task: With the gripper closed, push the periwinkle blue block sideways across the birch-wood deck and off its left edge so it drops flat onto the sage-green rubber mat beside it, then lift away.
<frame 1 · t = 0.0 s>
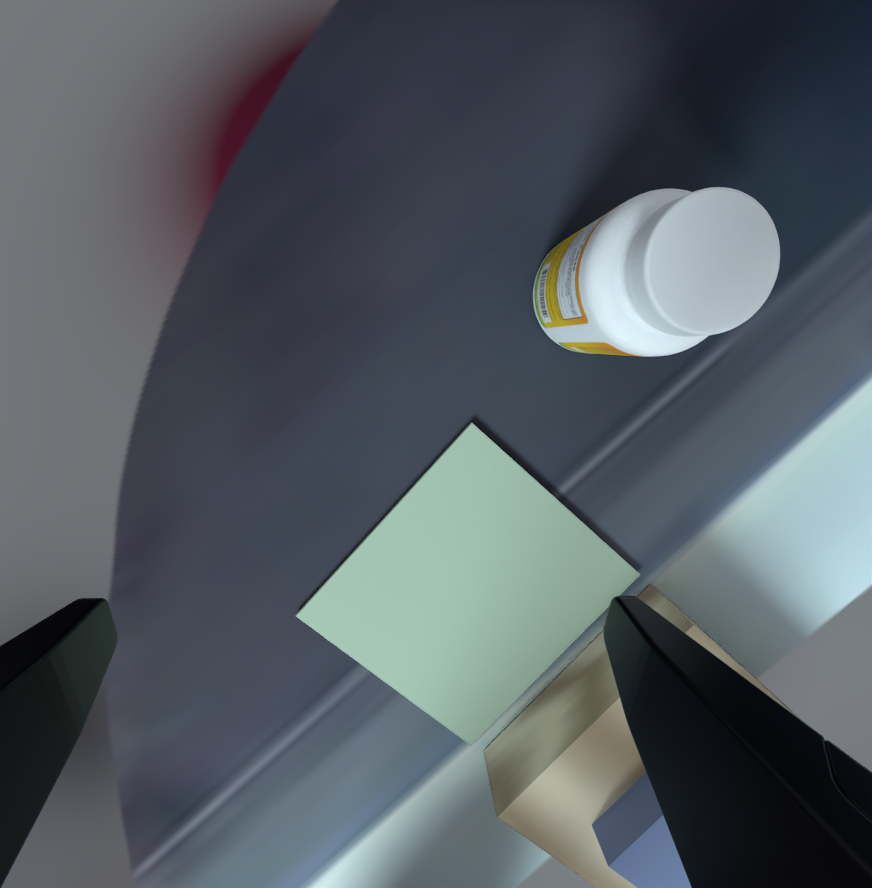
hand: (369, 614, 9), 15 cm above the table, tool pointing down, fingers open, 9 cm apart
mat: (470, 592, 26), on the table
periwinkle blue block: (690, 801, 25), point 4 cm above the table, touching deck
deck: (638, 729, 29), on the table
supplement bottle: (585, 294, 24), on the table
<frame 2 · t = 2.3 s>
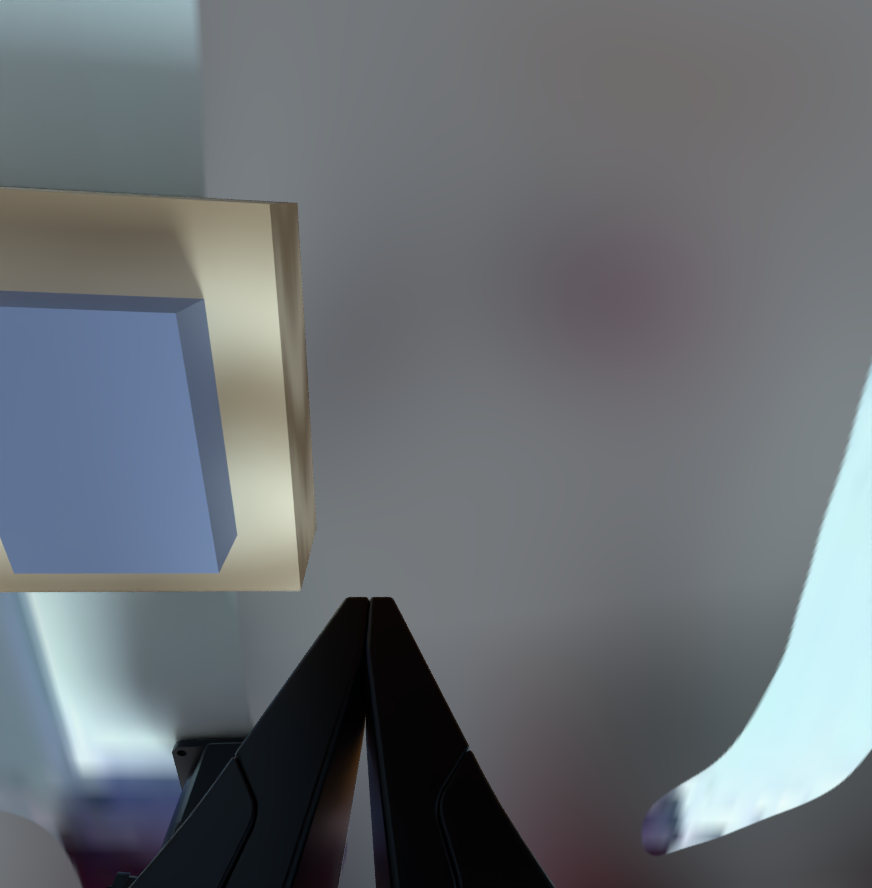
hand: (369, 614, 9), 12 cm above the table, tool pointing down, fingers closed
periwinkle blue block: (122, 427, 16), point 4 cm above the table, touching deck
deck: (146, 384, 19), on the table
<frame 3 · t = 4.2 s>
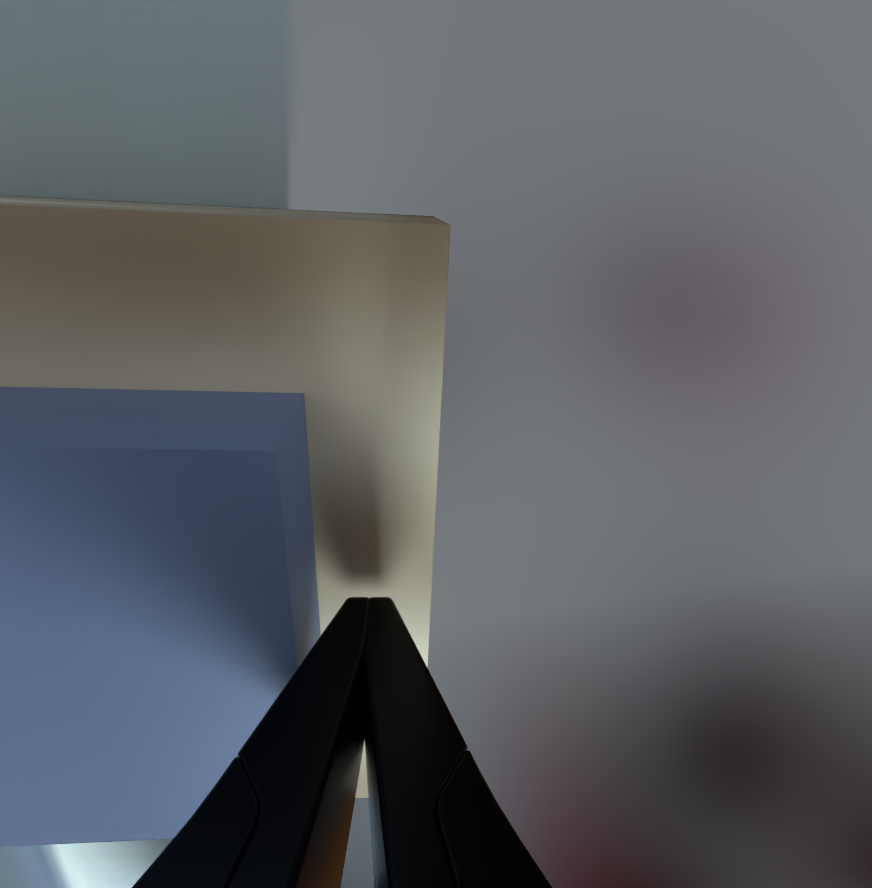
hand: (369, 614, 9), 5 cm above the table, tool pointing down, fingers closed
periwinkle blue block: (152, 594, 9), point 4 cm above the table, touching gripper
deck: (187, 485, 13), on the table
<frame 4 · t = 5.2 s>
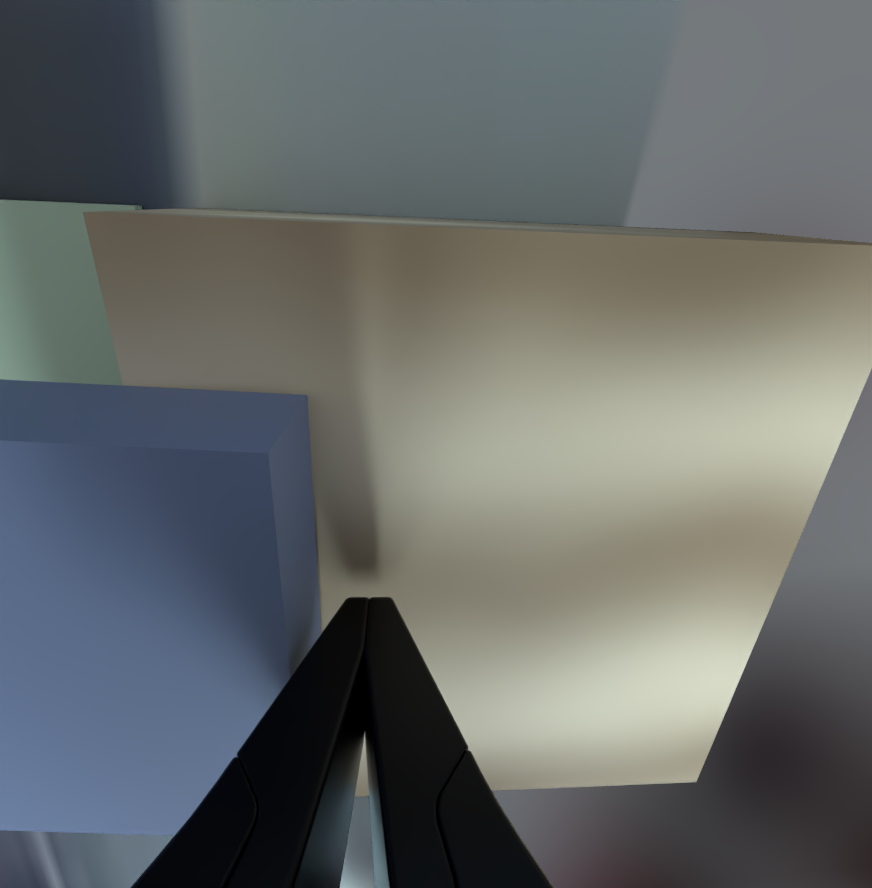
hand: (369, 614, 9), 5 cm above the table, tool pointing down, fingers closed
periwinkle blue block: (156, 590, 9), point 4 cm above the table, touching gripper
deck: (465, 486, 14), on the table
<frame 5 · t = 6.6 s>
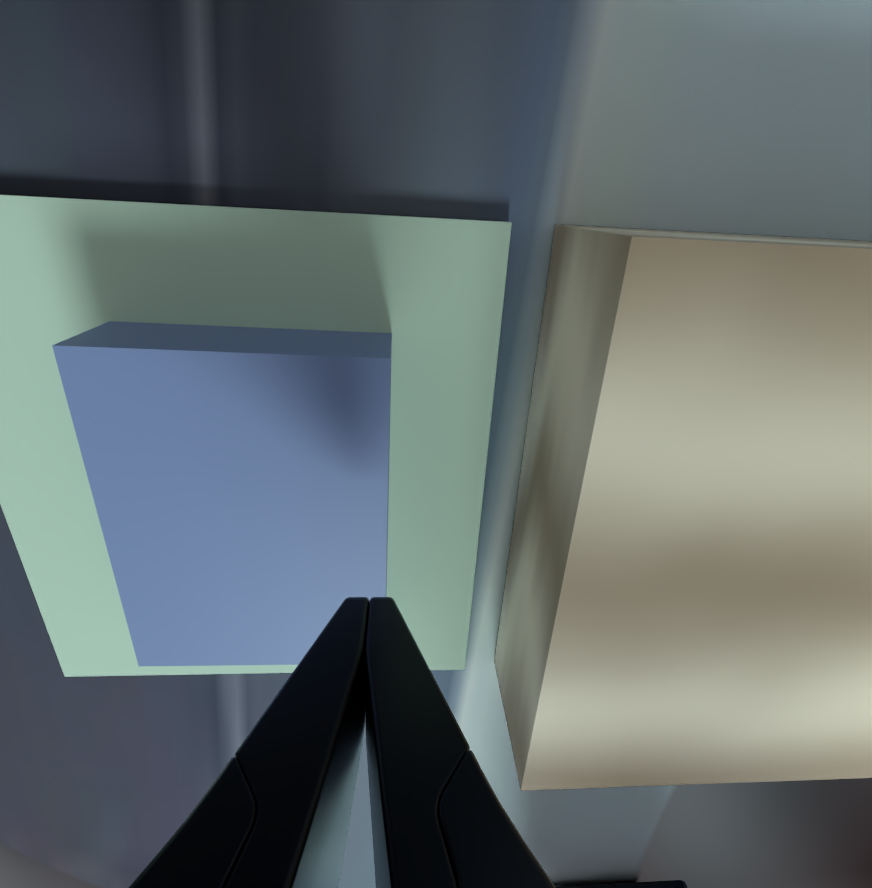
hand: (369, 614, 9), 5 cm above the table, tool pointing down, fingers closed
mat: (251, 484, 13), on the table
periwinkle blue block: (247, 532, 11), point 2 cm above the table, tilted 180°, touching mat
deck: (730, 489, 14), on the table
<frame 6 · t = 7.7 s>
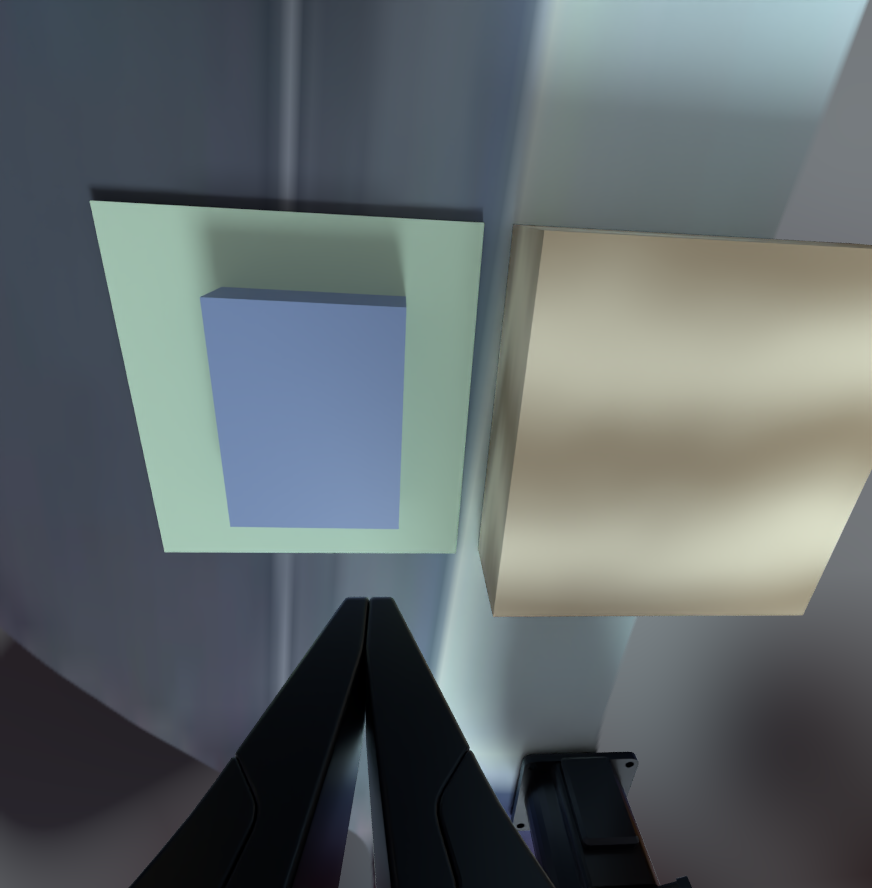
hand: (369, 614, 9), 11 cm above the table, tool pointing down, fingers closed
mat: (306, 404, 19), on the table
periwinkle blue block: (310, 426, 17), point 2 cm above the table, tilted 180°, touching mat
deck: (645, 414, 20), on the table
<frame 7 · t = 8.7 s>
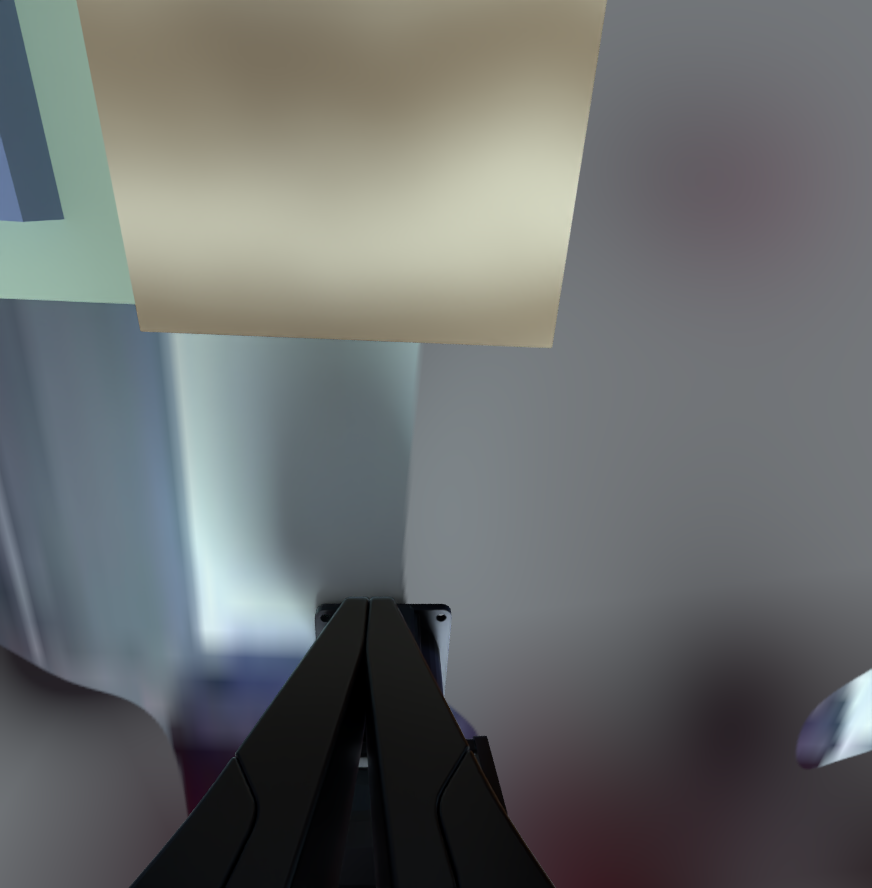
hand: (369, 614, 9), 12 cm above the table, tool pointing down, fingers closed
deck: (360, 100, 16), on the table
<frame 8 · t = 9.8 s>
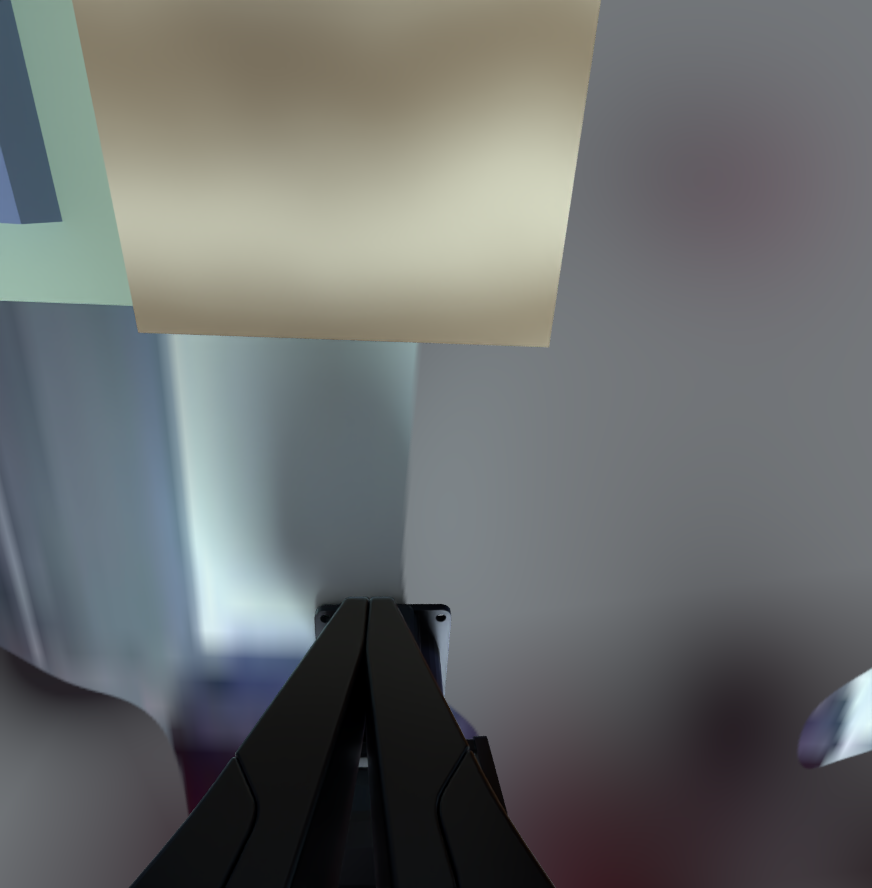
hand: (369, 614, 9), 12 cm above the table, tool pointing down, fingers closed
deck: (357, 101, 16), on the table
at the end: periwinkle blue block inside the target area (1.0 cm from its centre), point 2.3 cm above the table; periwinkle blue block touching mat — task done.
